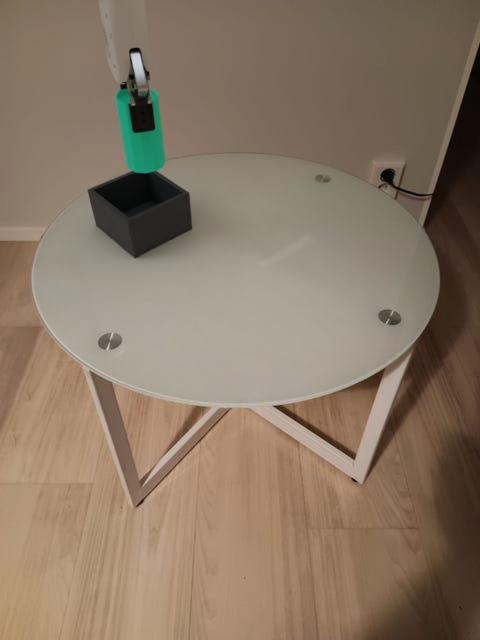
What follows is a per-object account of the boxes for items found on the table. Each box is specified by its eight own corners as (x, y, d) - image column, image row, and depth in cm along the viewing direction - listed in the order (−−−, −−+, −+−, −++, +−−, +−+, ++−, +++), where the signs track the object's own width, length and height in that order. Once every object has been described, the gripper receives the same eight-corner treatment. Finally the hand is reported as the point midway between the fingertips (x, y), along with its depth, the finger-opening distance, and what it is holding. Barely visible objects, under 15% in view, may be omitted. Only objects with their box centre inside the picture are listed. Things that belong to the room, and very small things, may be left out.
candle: (118, 168, 78) (104, 88, 69) (138, 150, 82) (127, 72, 73) (153, 176, 76) (142, 95, 68) (172, 158, 80) (164, 79, 71)
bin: (134, 258, 87) (127, 221, 82) (95, 225, 94) (87, 189, 88) (192, 228, 93) (189, 192, 87) (152, 199, 99) (147, 164, 94)
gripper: (78, -40, 66) (104, 100, 79) (97, -4, 55) (124, 152, 68) (136, -44, 67) (152, 93, 81) (165, -9, 56) (178, 144, 69)
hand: (139, 119), depth 74 cm, fingers closed on candle, 5 cm apart
